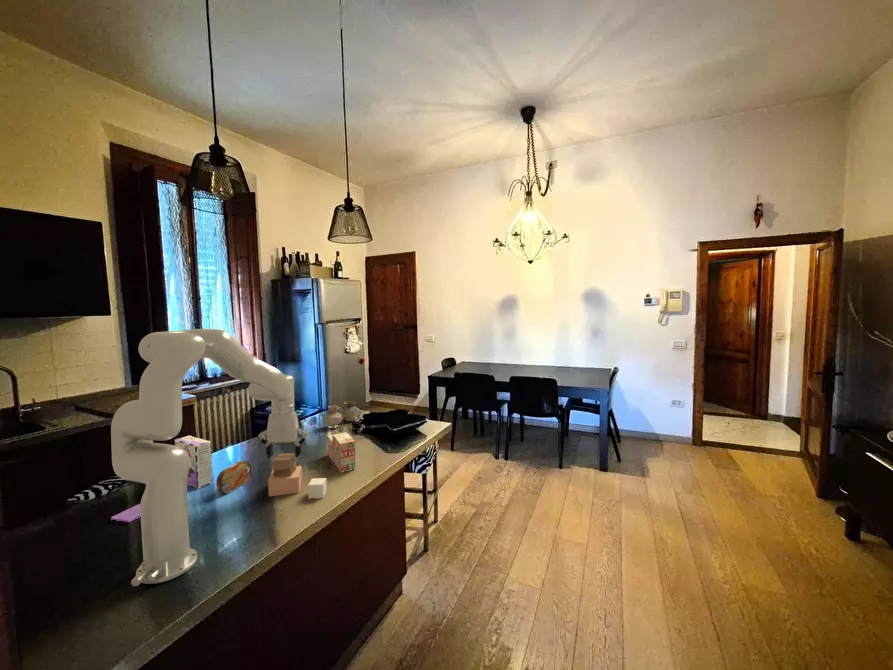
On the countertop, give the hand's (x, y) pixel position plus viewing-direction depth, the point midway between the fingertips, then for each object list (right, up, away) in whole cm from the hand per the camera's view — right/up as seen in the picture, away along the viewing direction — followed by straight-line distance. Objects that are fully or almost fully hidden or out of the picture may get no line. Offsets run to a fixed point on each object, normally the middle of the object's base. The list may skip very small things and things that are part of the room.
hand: (284, 456), depth 139 cm
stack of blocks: (+14, -11, +25) cm, 30 cm away
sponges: (-40, -14, -15) cm, 45 cm away
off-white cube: (+14, -13, -4) cm, 19 cm away
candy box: (-36, -12, +6) cm, 39 cm away
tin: (-19, -12, +2) cm, 23 cm away
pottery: (0, -7, +79) cm, 79 cm away
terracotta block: (0, -12, +1) cm, 12 cm away
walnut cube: (0, -6, +1) cm, 6 cm away
